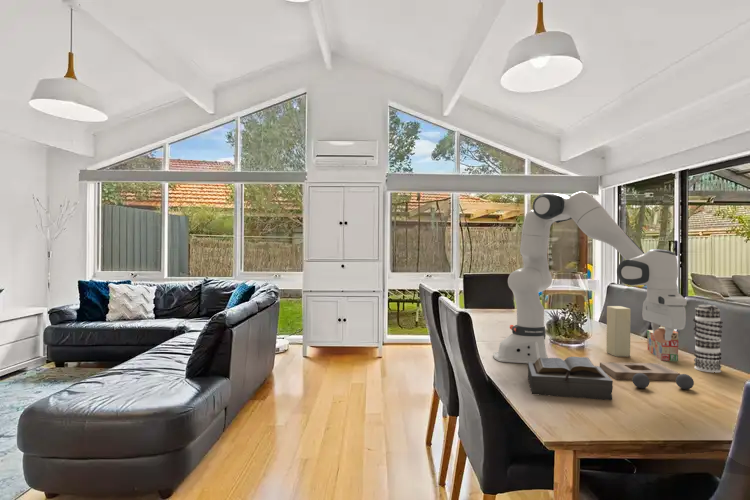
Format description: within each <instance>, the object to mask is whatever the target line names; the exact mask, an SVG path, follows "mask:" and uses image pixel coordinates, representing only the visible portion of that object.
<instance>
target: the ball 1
mask: <svg viewBox="0 0 750 500" xmlns="http://www.w3.org/2000/svg"><path fill="white" fill-rule="evenodd" d="M631 380H632V383H633V385H634V386H635V387H636V388H639V389H646V388H647V387H648V386H650V382H651V380H649V378H648V377H647V376H646V375H645V374H643V373H637V374H635V375H634V376H633V378H632V379H631Z"/></svg>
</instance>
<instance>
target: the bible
mask: <svg viewBox="0 0 750 500" xmlns="http://www.w3.org/2000/svg"><path fill="white" fill-rule="evenodd" d="M527 380H529V381H528V385H529V384H530V385H529V388H531V389H530V392H532V393H531V395H532V394H539V395H538V396H548V395H550V396H552V397H562V398H573V399H574V398H575V399H590V400H599V401H600V400H601V401H603V400H604V401H607V400H608V401H612V400H613V395H612V393H613V387H614V386H613V383H614V381H613V379H612V378H611V376H610V375H609V374H607V373H606V372H604V371H603V370H602V368H600V365H598V366H597V365H594V364H593V362H592V361H591V360H590V358H589V357H587V356H584V357H583V356H581V357H580V356H568V357H566V358H565V359H562V358H559V357H548V358H539V359H538V360H537V361H536V362H535V363H531V362H528V363H527Z"/></svg>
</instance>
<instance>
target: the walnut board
mask: <svg viewBox="0 0 750 500" xmlns="http://www.w3.org/2000/svg"><path fill="white" fill-rule="evenodd" d="M599 367H600V368H602V370H603V371H604V372H605V373H606V374H607V375H608V376H609V377H612V378H613V379H615V380H632V378H633V376H634V375H635V374H637V373H643V374H645V375H646V376H647V377H648V378H649V381H676V378H677V376H678V375H680V374H681V373H680V372H678V371H675V370H673V369H671V368H669V367H667V366H665V365H663V364H661V363H657V362H653V363H651V362H645V363H644V362H611V361H610V362H609V361H608V362H607V361H606V362H605V361H604V362H603V361H602V362H600V361H599Z"/></svg>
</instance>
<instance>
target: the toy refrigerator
mask: <svg viewBox="0 0 750 500" xmlns="http://www.w3.org/2000/svg"><path fill="white" fill-rule="evenodd" d="M631 311H632V310H631V308H629V307H625V306H622V305H607V306H606V353H608V354H609V355H612V356H614V357H631V322H632V321H631V320H632V319H631V315H632V314H631Z"/></svg>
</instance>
